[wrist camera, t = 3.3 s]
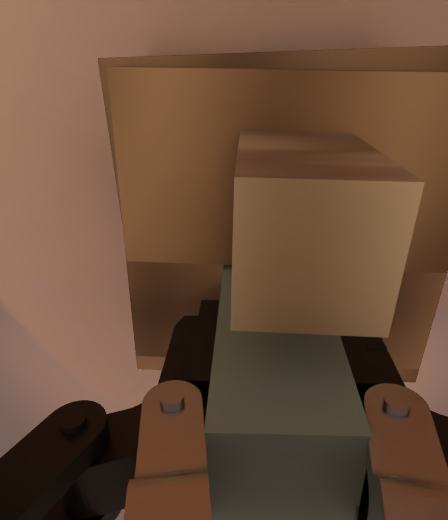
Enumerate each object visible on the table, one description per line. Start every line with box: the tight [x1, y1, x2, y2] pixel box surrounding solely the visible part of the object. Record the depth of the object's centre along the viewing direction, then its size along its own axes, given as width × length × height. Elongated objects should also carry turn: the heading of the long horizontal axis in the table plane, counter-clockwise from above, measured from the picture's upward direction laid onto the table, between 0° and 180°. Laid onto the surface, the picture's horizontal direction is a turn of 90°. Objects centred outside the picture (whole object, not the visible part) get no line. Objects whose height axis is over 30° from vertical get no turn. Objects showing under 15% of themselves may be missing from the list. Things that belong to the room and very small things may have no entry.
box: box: [98, 46, 448, 224], centre depth 16 cm, size 10×10×6 cm
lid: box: [107, 66, 448, 382], centre depth 11 cm, size 10×10×6 cm
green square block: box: [204, 265, 372, 520], centre depth 12 cm, size 3×3×10 cm
